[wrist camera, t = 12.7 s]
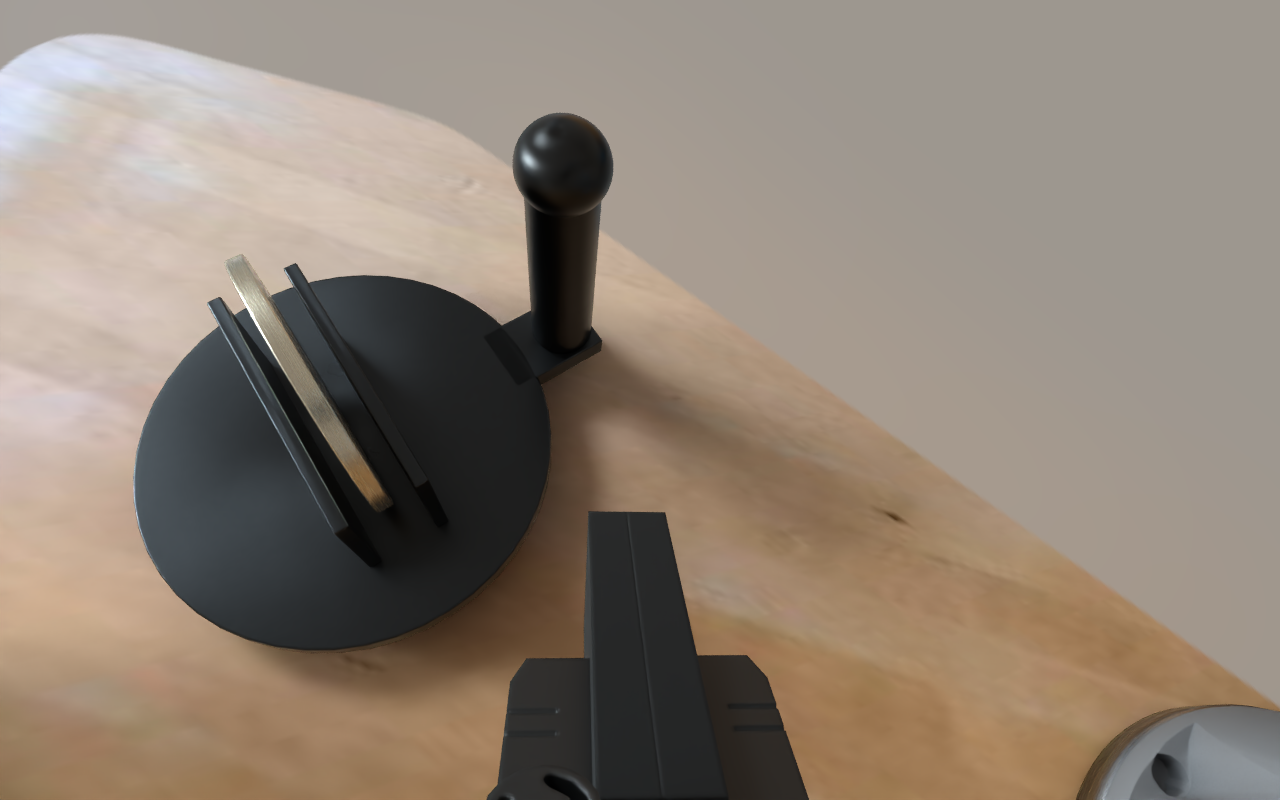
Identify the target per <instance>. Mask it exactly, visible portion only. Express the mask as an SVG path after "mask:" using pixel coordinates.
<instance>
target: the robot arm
mask: <svg viewBox="0 0 1280 800" xmlns="http://www.w3.org/2000/svg"><path fill="white" fill-rule="evenodd" d="M487 800H809V798H808V795H807V792H806V789H805V786H804V783H803V780H802V777H801V775H800V772H799V769H798V766H797V763H796V760H795V757H794V754H793V751H792V748H791V745H790V742H789V739H788V737H787V734H786V731H784V725H783V722H782V719H781V716H780V713H779V710H778V709H777V708H776V701H775V699H774V696H773V693H772V690H771V687H770V684H769V681H768V678H767V677H766V676H765V674H764V673H763V672H762V671H761V670H760V669H759V668H758V667H757V666H756V665H755V663H754V662H753V661H752V660H751V659H750V658H749V657H748V656H747V655H697V653H696V648H695V644H694V639H693V635H692V631H691V626H690V622H689V617H688V613H687V608H686V604H685V599H684V595H683V590H682V586H681V581H680V577H679V572H678V568H677V563H676V559H675V555H674V550H673V546H672V541H671V537H670V532H669V528H668V523H667V519H666V514H665V512H598V511H588V537H587V562H586V588H585V614H584V658H526V660H525V661H524V663H523V664H522V665H521V667H520V668H519V670H518V671H517V673H516V674H515V676H514V677H513V678H512V680H511V681H510V688H509V696H508V704H507V714H506V720H505V728H504V737H503V745H502V753H501V761H500V769H499V777H498V785H497V786H496V787H495V788H494V789H493V790H492V791H491V793H490V794H489V795H488V797H487ZM1076 800H1280V712H1279V711H1273V710H1268V709H1263V708H1258V707H1253V706H1244V705H1232V704H1231V705H1206V706H1188V707H1180V708H1174V709H1169V710H1165V711H1162V712H1158V713H1155V714H1152V715H1150V716H1148V717H1145V718H1143V719H1141V720H1139V721H1137V722H1136V723H1134V724H1132V725H1131V726H1129V727H1128V728H1126V729H1125V730H1124V731H1122V732H1121V733H1120V734H1119V735H1117V736H1116V737H1115V738H1114V739H1113V740H1112V741H1111V742H1110V743H1109V744H1108V745H1107V746H1106V747H1105V748H1104V749H1103V751H1102V752H1101V753H1100V755H1099V756H1098V757H1097V759H1096V760H1095V762H1094V763H1093V765H1092V766H1091V768H1090V770H1089V772H1088V773H1087V775H1086V777H1085V779H1084V781H1083V783H1082V786H1081V788H1080V791H1079V793H1078V795H1077V798H1076Z"/></svg>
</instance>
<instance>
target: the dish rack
mask: <svg viewBox="0 0 1280 800" xmlns="http://www.w3.org/2000/svg"><path fill="white" fill-rule="evenodd" d="M513 174H514V178H515V181H516V184H517V186H518V189H519V191H520V192H521V194H522V195H523V197H524V204H525V221H526V237H527V253H528V270H529V286H530V302H531V311H529V312H527V313H525V314H523V315H522V316H520V317H518V318H516V319H514V320H512V321H510V322H508V323H506V324H504V325H502V326H501V325H500V324H499V323H498V322H497V321H496V320H495V319H494V318H492V317H491V316H490V315H488V314H487V313H486V312H484V311H483V310H481V309H480V308H479V307H477V306H476V305H474V304H472V303H471V302H469V301H467V300H465V299H463V298H461V297H459V296H458V295H456V294H454V293H451V292H449V291H446V290H443V289H441V288H438V287H436V286H433V285H429V284H426V283H422V282H418V281H414V280H410V279H403V278H396V277H389V276H367V275H362V276H347V277H336V278H331V279H325V280H319V281H314V282H310V283H308V281H307V280H306V278H305V276H304V275H303V273H302V272H301V270H300V268H299V267H298V265H297V264H296V263H295V264H292V265H290V266H288V267H286V268H284V271H285V273H286V275H287V276H288V278H289V280H290V282H291V283H292V285H293V288H289V289H287V290H284V291H282V292H279V293H277V294H274V295H272V296H271V295H270V294H269V292H268V291H267V289H266V287H265V286H264V284H263V283H262V281H261V280H260V278H259V276H258V275H257V273H256V272H255V270H254V269H253V267H252V266H251V264H250V263H249V261H248V260H247V259H246V257H245V256H244V255H243V254H240V255H238V256H235V257H233V258H231V259H228V260H226V261H225V262H224V263H225V267H226V270H227V272H228V274H229V276H230V278H231V280H232V282H233V284H234V286H235V288H236V290H237V292H238V294H239V295H240V297H241V299H242V301H243V303H244V305H245V306H246V308H245V309H243V310H242V311H240V312H239V313H237V314H236V315H234V314H233V313H232V311H231V310H230V309H229V307H228V306H227V305H226V303H225V302H224V301H223V300H222V298H220V297H218V298H216V299H214V300H212V301H210V302H208V303H207V305H208V306H209V308H210V310H211V312H212V314H213V315H214V317H215V319H216V321H217V323H218V325H219V326H218V327H217V328H216V329H215V330H214V331H212V332H211V333H210V334H209V335H207V336H206V337H205V338H204V339H203V340H201V341H200V342H199V343H198V345H197V346H196V347H195V348H194V349H193V350H192V351H191V352H190V353H189V354H188V355H187V356H186V357H185V358H184V359H183V360H182V361H181V363H180V364H179V365H178V367H177V368H176V369H175V371H174V372H173V373H172V374H171V376H170V377H169V378H168V380H167V381H166V383H165V385H164V386H163V388H162V390H161V391H160V393H159V395H158V396H157V398H156V400H155V401H154V403H153V406H152V408H151V410H150V413H149V415H148V417H147V420H146V422H145V424H144V427H143V430H142V434H141V438H140V441H139V445H138V448H137V453H136V460H135V468H134V476H133V480H134V505H135V510H136V516H137V521H138V527H139V530H140V533H141V536H142V538H143V541H144V544H145V547H146V549H147V552H148V554H149V556H150V558H151V559H152V561H153V563H154V565H155V566H156V568H157V570H158V572H159V574H160V575H161V576H162V578H163V579H164V580H165V581H166V583H167V584H168V585H169V586H170V588H171V589H172V590H173V591H174V592H175V594H176V595H177V596H178V597H179V598H180V599H182V600H183V601H184V602H185V603H186V604H187V605H188V606H189V607H191V608H192V609H193V610H194V611H195V612H196V613H197V614H199V615H201V616H202V617H204V618H205V619H207V620H208V621H210V622H212V623H213V624H215V625H216V626H218V627H219V628H221V629H224V630H226V631H228V632H230V633H233V634H235V635H237V636H240V637H242V638H244V639H247V640H249V641H252V642H256V643H259V644H263V645H267V646H270V647H274V648H278V649H282V650H289V651H297V652H305V653H344V652H351V651H358V650H365V649H371V648H375V647H378V646H382V645H386V644H389V643H393V642H397V641H400V640H402V639H405V638H407V637H410V636H412V635H414V634H417V633H419V632H422V631H424V630H427V629H428V628H430V627H432V626H434V625H436V624H437V623H439V622H441V621H443V620H444V619H446V618H448V617H450V616H451V615H453V614H454V613H456V612H457V611H459V610H460V609H461V608H463V607H464V606H465V605H467V604H468V603H469V602H471V601H472V600H473V599H475V598H476V597H477V596H478V595H479V594H480V593H481V592H483V591H484V590H485V589H486V588H487V587H488V586H489V585H490V584H491V583H492V582H493V581H494V580H495V579H496V578H497V577H498V576H499V575H500V573H501V572H502V571H503V570H504V569H505V567H506V566H507V565H508V564H509V563H510V561H511V560H512V559H513V558H514V556H515V555H516V553H517V552H518V550H519V548H520V547H521V545H522V544H523V542H524V541H525V539H526V537H527V536H528V534H529V532H530V530H531V528H532V526H533V523H534V521H535V519H536V517H537V515H538V513H539V510H540V507H541V504H542V501H543V498H544V494H545V491H546V488H547V482H548V476H549V471H550V465H551V428H550V419H549V411H548V407H547V403H546V399H545V395H544V392H543V388H542V386H541V384H543V383H545V382H547V381H548V380H550V379H552V378H554V377H555V376H557V375H559V374H561V373H563V372H564V371H566V370H568V369H570V368H571V367H573V366H575V365H577V364H579V363H580V362H582V361H584V360H586V359H588V358H589V357H591V356H593V355H595V354H596V353H598V352H600V351H601V347H602V339H601V338H600V337H599V335H598V334H597V333H596V331H595V330H594V329H593V327H592V326H591V323H592V311H593V299H594V286H595V274H596V262H597V249H598V237H599V224H600V212H601V200H602V199H603V198H604V196H605V195H606V193H607V191H608V189H609V187H610V184H611V181H612V176H613V158H612V153H611V150H610V147H609V144H608V142H607V140H606V139H605V137H604V136H603V134H602V133H601V132H600V130H599V129H597V127H595V125H593V124H592V123H591V122H589V121H588V120H586V119H584V118H582V117H580V116H577V115H574V114H569V113H553V114H549V115H546V116H544V117H541V118H539V119H537V120H536V121H534V122H533V123H532V124H530V125H529V126H528V127H527V128H526V129H525V130H524V131H523V133H522V134H521V136H520V137H519V139H518V142H517V144H516V146H515V150H514V155H513Z"/></svg>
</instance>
